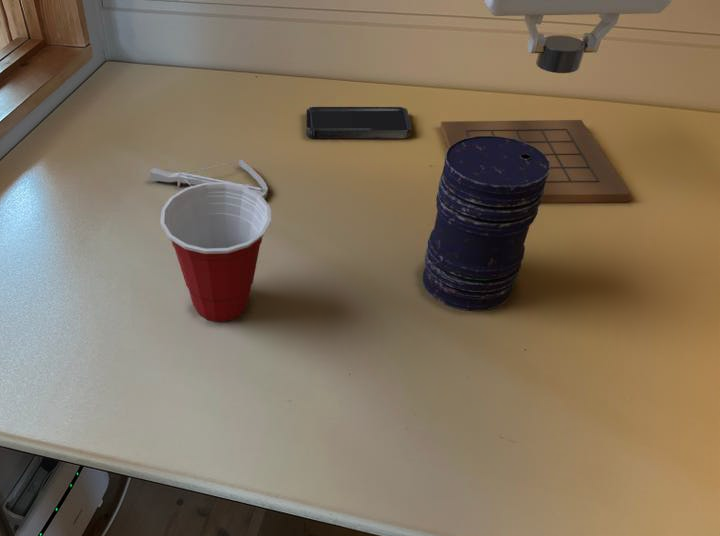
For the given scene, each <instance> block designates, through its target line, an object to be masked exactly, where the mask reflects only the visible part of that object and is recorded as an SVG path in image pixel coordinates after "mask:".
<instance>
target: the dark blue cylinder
mask: <svg viewBox="0 0 720 536" xmlns="http://www.w3.org/2000/svg"><path fill="white" fill-rule="evenodd" d="M549 170H550V162H549V160H548V158H547V157H546V156H545V154H544V153H542V152H541V151H540V150H538V149H537V148H535V147H534V146H532V145H530V144H527V143H525V142H522V141H519V140H516V139H511V138H506V137H499V136H477V137H470V138H466V139H463V140H460V141H458V142H456V143H454V144H453V145H452V146H450V148H449V149H448V150H447V149H446V153H445V158H444V165H443V168H442V171H441V172H442V173H441V175H440V177H439V183H438V192H437V194H436V197H435V201H436V204H435V205H436V210H437V211H436V217H435V221H434V227H433V229H432V230H431V232H430V234H429V238H428V240H427V246H426V251H425V256H424V269H423V272H422V284H423V287H424V289H425V290H426V292H427V293H428V294H429V295H430V296H431V297H432V298H434V299H435V300H436V301H437V302H439V303H441V304H444V305H446V306H447V307H451V308H453V309H458V310H462V311H470V312H481V311H489V310H492V309H496V308H498V307H500V306H502V305H504V304H505V303H506V302H507V301H508V300H509V299H510V298H511V296H512V292H513V290H514V285H515V283H516V280H517V278H518V276H519V274H520V271H521V268H522V262H523V260H524V258H525V251H526V247H525V242H526V240H527V235H528V233H529V230H530V227H531V225H532V224H534V221H535V219H536V217H537V215H538V214H539V213H538V212H539V207H540V205H541V204H542V203H541V200H542V196H543V192H544V186H545V182H546V179H547V176H548V173H549Z"/></svg>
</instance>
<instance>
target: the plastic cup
mask: <svg viewBox="0 0 720 536" xmlns="http://www.w3.org/2000/svg"><path fill="white" fill-rule="evenodd" d="M191 186H192V187H191ZM191 186H188V187H185V188H183V189H182V190H180V191H178V192H177V193H175V194H173V195H172V196H171V197H169V199H168V200H167V201H166V203H165V204H164V206H162V208H161V210H160V226H161V228H162V229H163V231H164V232H165V234H166V236H167V237H168V240H169V241H171V244H172V247H173V248H174V252H175V254H176V257H177V260H178V263H179V267H180V270H181V273H182V276H183V279H184V282H185V286H186V287H187V289H188V292H189V295H190V299H191V302H192V305H193V307H194V308H195V310H196V312H197V314H198V315H199V316H200V317H202V318H204V319H205V320H208V321H212V322H217V323H219V322H229V321H232V320H236V319H237V318H238V317H240V316H242V315H243V314H244V312H245V311H246V309H247V307H248V304H249V302H250V297H251V290H252V285H253V284H254V279H255V273H256V268H257V264H258V257H259V252H260V247H261V245H262V242H263V238H264V235H265V234H266V232H267V230H268V228H269V226H270V225H271V222H272V212H271V206H270V205H269V204H268V202H267V201H266V199H265V200H264V198H263V197H262V196H261V195H260V194H258V193H256V192H255V191H253V190H251V189H249V188H247V187H245V186H241V185H236V184H232V183H227V182H216V183H203V184H199V185H191Z"/></svg>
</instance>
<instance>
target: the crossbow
mask: <svg viewBox="0 0 720 536" xmlns="http://www.w3.org/2000/svg"><path fill="white" fill-rule="evenodd" d="M238 162H239V167H240V168H242V169H243V170H244V171H246V172H247V173H248V174H249V175H251V177H252V178H253V179H255V181H256V182H257V183H258V184H259V185H260V187H258V186H252V185H251V183H246V184H242V183H238V182H234V181H233V182H232V181H228V180H223V179H217V178H212V177H207V176H203V175H199V174H193V173H196V172H199V171H205V170H208V169H213V168H216V167H221V166H226V165H230V164H233V163H238ZM149 176H150V178H149V179H150V181H155V182H163V183H164V182H165V183H174V182H177V188H178V187H179V188H180V186H181V185H182V184H183V186H185V185H186V184H188V185H189V187H192V186H195V185H199V184H203V183H216V182H227V183H232V184H236V185H241V186H245V187H247V188H249V189H251V190H253V191H255V192H256V193H258V194H260V195H261V196H262V197H263V198H264V200H265V201H266V198H267V196H268V195H269V194H268V193H269V188H268V185H267V183H266V181H264V179H263V177H262V176H260V174H259V173H258V172H256V170H254V168H252V167H251V166H250V165H248V164H247V163H246V162H245V161H244V160H243V159H239V160H235V161H231V162H226V163H223V164H218V165H214V166H209V167H205V168H201V169H198V170H193V171H188V172H187V171H183V172H181V171H179V172H170V171H166V170H162V169H160V168H155V167H152V168H151V170H149Z"/></svg>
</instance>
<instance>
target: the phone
mask: <svg viewBox="0 0 720 536" xmlns="http://www.w3.org/2000/svg"><path fill="white" fill-rule="evenodd" d="M305 112H306V115H305V116H306V117H305V118H306V119H305V120H306V121H305V125H306V126H305V127H306V128H305V135H306V136H307V137H308V138H312V139H408V138H410V137H411V132H412V124H411V120H410V115H409V111H408V109H407V108H405V107H403V106H310V107H308V108H306V111H305Z"/></svg>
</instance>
